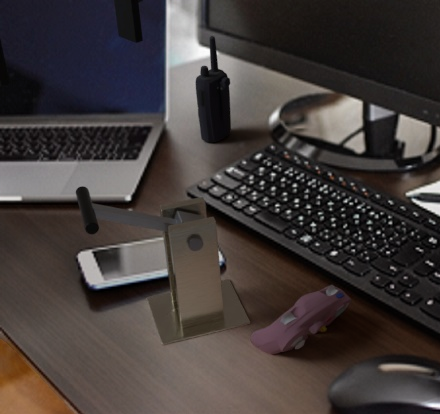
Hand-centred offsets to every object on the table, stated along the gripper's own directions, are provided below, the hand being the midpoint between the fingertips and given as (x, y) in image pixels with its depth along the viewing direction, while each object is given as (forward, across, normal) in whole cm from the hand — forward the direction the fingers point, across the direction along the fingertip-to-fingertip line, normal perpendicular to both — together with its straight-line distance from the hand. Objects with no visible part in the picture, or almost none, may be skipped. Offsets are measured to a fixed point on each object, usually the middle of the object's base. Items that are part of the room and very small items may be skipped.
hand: (67, 59), depth 74 cm
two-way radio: (+28, +35, +22) cm, 50 cm away
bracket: (+28, +5, -8) cm, 29 cm away
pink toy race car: (+28, +10, -18) cm, 35 cm away
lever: (+16, +1, -6) cm, 17 cm away
